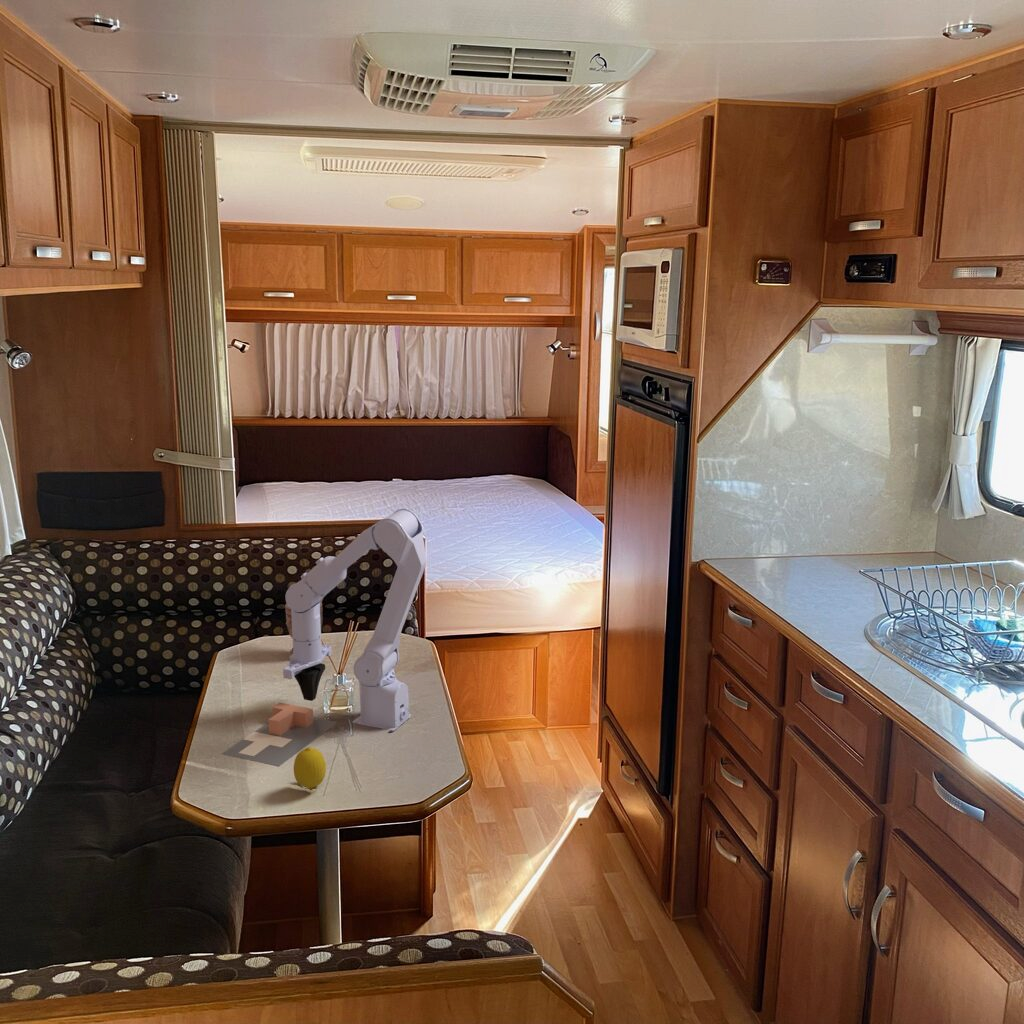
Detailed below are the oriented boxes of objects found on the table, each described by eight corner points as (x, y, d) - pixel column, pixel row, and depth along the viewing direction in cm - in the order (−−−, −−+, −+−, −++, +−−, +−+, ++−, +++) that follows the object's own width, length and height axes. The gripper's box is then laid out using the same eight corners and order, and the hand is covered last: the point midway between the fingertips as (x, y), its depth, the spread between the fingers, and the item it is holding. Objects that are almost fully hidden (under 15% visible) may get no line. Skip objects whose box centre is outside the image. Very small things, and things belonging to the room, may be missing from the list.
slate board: (338, 724, 196) (338, 722, 196) (279, 769, 178) (279, 766, 178) (284, 714, 201) (284, 711, 201) (221, 756, 183) (221, 753, 183)
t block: (280, 716, 199) (279, 702, 198) (313, 722, 196) (312, 708, 195) (257, 731, 192) (256, 717, 191) (291, 738, 189) (290, 723, 188)
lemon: (313, 778, 175) (310, 737, 173) (333, 788, 171) (331, 746, 170) (288, 790, 171) (285, 748, 169) (308, 800, 167) (306, 757, 165)
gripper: (310, 623, 206) (313, 683, 209) (269, 646, 193) (272, 709, 196) (338, 627, 204) (341, 688, 207) (299, 651, 191) (302, 715, 194)
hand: (309, 699), depth 201 cm, fingers closed
